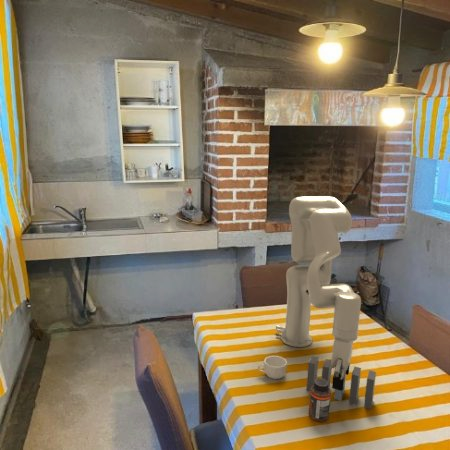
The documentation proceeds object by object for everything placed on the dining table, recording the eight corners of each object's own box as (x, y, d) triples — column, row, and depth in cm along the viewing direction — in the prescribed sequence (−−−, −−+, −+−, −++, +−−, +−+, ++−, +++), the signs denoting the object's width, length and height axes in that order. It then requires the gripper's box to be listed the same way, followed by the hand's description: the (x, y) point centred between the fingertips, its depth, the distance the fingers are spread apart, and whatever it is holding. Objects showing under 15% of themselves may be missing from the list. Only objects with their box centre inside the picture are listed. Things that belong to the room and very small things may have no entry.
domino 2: (320, 394, 130) (322, 366, 128) (323, 386, 135) (326, 359, 133) (326, 396, 129) (328, 368, 127) (329, 388, 134) (332, 360, 132)
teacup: (282, 368, 145) (283, 355, 143) (288, 381, 137) (289, 366, 136) (255, 370, 143) (256, 356, 142) (259, 382, 136) (260, 368, 135)
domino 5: (363, 407, 124) (367, 378, 122) (366, 398, 129) (369, 370, 127) (370, 409, 124) (374, 380, 122) (372, 400, 128) (376, 371, 126)
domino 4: (348, 403, 126) (351, 374, 124) (351, 394, 131) (354, 366, 129) (355, 404, 126) (358, 375, 123) (358, 396, 130) (361, 368, 128)
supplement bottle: (305, 409, 123) (308, 376, 120) (325, 409, 123) (327, 375, 121) (311, 423, 117) (314, 388, 115) (331, 422, 117) (334, 387, 115)
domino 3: (334, 398, 128) (337, 370, 126) (337, 390, 133) (340, 362, 131) (340, 400, 128) (343, 371, 126) (344, 392, 132) (346, 364, 130)
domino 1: (306, 390, 132) (308, 362, 130) (310, 382, 137) (312, 355, 135) (312, 392, 131) (314, 364, 129) (316, 384, 136) (318, 357, 134)
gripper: (338, 318, 135) (334, 365, 138) (326, 340, 120) (322, 392, 123) (362, 323, 131) (357, 370, 135) (352, 346, 116) (347, 399, 120)
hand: (340, 381), depth 129 cm, fingers open, 9 cm apart
